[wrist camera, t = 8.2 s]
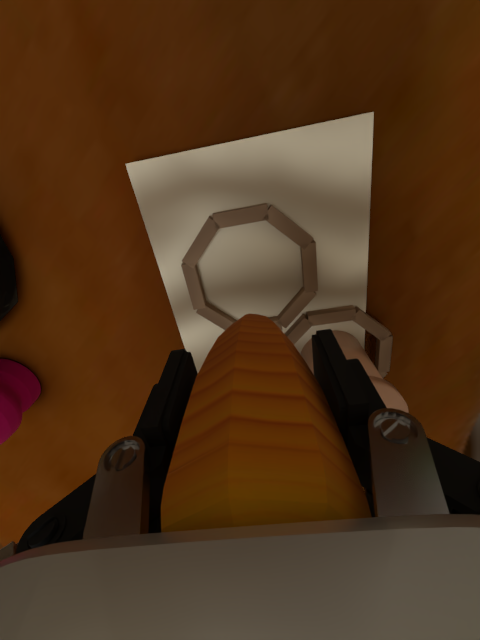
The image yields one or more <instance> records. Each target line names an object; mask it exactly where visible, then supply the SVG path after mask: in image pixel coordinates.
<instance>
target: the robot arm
mask: <svg viewBox="0 0 480 640" xmlns="http://www.w3.org/2000/svg"><path fill="white" fill-rule="evenodd" d="M312 353H313V369H314V376H315V378H316V379H317V381H318V383H319V384H320V386H321V388H322V390H323V392H324V395H325V397H326V399H327V402H328V404H329V406H330V409H331V411H332V413H333V416H334V418H335V420H336V423H337V426H338V428H339V431H340V433H341V434H342V437H343V440H344V442H345V445H346V447H347V450H348V452H349V455H350V457H351V460H352V463H353V465H354V468H355V470H356V473H357V475H358V478H359V480H360V483H361V486H363V487H364V493H365V496H366V498H367V501H368V505H369V509H370V513H371V516H372V518H358V519H343V520H328V521H313V522H298V523H284V524H270V525H256V526H242V527H229V528H215V529H201V530H188V531H176V532H163V533H161V502H162V495H163V489H164V484H165V481H166V477H167V474H168V470H169V466H170V463H171V459H172V456H173V452H174V448H175V445H176V441H177V438H178V434H179V430H180V427H181V423H182V420H183V417H184V414H185V410H186V407H187V404H188V401H189V398H190V395H191V392H192V388H193V385H194V382H195V379H196V377H197V375H198V373H197V370H196V366H195V363H194V360H193V357H192V354H191V352H187V351H186V349H181V350H174V351H171V353H170V355H169V358H168V360H167V363H166V365H165V368H164V370H163V373H162V375H161V378H160V380H159V383H158V384H155V385H154V386H153V388H152V390H151V393H150V395H149V398H148V400H147V403H146V405H145V407H144V410H143V412H142V415H141V417H140V419H139V422H138V424H137V427H136V429H135V432H134V434H133V436H128V437H124V438H121V439H119V440H117V441H116V442H114V443H113V444H111V445H110V446H109V447H108V448H107V449H106V450H105V451H104V453H103V454H102V456H101V458H100V461H99V464H98V469H97V473H96V474H95V475H94V476H93V477H91V478H90V479H89V480H87V481H86V482H85V483H83V484H82V485H81V486H79V487H78V488H77V489H75V490H74V491H73V492H71V493H70V494H69V495H67V496H66V497H65V498H63V499H62V500H61V501H59V502H58V503H57V504H55V505H54V506H53V507H51V508H50V509H49V510H47V511H46V512H45V513H43V514H42V515H41V516H40V517H38V518H37V519H36V520H35V521H34V522H33V523H32V524H31V525H30V526H29V527H28V529H27V530H26V531H25V532H24V534H23V536H22V537H21V539H20V541H19V543H17V544H16V543H15V542H14V541H13V542H11V543H10V544H8V545H7V546H5V547H4V548H2V549H1V550H0V640H480V462H479V461H476V460H474V459H472V458H470V457H468V456H466V455H463V454H461V453H459V452H457V451H455V450H453V449H450V448H448V447H446V446H444V445H442V444H440V443H437V442H435V441H433V440H431V439H429V438H427V437H426V435H425V431H424V429H423V427H422V425H421V423H420V422H419V421H418V420H417V419H416V418H415V417H413V416H412V415H410V414H409V413H407V412H404V411H402V410H399V409H393V408H387V407H386V405H385V404H384V402H383V400H382V399H381V397H380V395H379V393H378V392H377V390H376V388H375V386H374V385H373V383H372V381H371V380H370V378H369V376H368V374H367V373H366V371H365V369H364V367H363V366H362V364H361V362H360V361H359V359H357V358H356V359H348V360H347V359H346V357H345V355H344V353H343V351H342V349H341V347H340V345H339V344H338V342H337V340H336V338H335V336H334V334H333V332H332V330H331V329H325V330H318V331H316V334H315V335H312Z"/></svg>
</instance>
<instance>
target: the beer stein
mask: <svg viewBox="0 0 480 640" xmlns="http://www.w3.org/2000/svg"><path fill="white" fill-rule="evenodd" d="M17 302H18V299H17V289H16V279H15V269H14V259H13V257H12V255H11V253H10V251H9V250H8V248H7V246H6V244H5V242H4V241H3V239H2V237H1V235H0V321H1V320H2V318H3V317H4V316H5V315H6V314H7V313H8V312H9V311H10V310H11V309H12V308H13V306H14V305H15V304H16V303H17Z"/></svg>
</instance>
